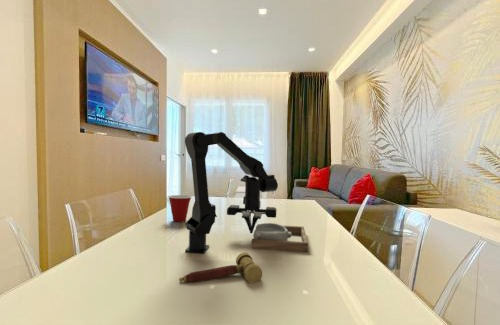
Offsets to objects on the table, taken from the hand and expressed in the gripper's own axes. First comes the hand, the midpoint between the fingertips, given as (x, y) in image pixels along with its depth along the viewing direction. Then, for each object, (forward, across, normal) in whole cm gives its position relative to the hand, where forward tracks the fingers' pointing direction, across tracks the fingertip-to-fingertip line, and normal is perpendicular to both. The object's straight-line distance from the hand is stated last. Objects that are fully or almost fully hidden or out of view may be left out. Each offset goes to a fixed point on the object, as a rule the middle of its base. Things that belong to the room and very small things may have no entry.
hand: (251, 233), depth 104 cm
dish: (+2, -8, 0) cm, 8 cm away
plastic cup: (+2, +36, -19) cm, 41 cm away
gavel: (+3, +5, +33) cm, 34 cm away
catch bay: (+2, -10, 0) cm, 11 cm away
